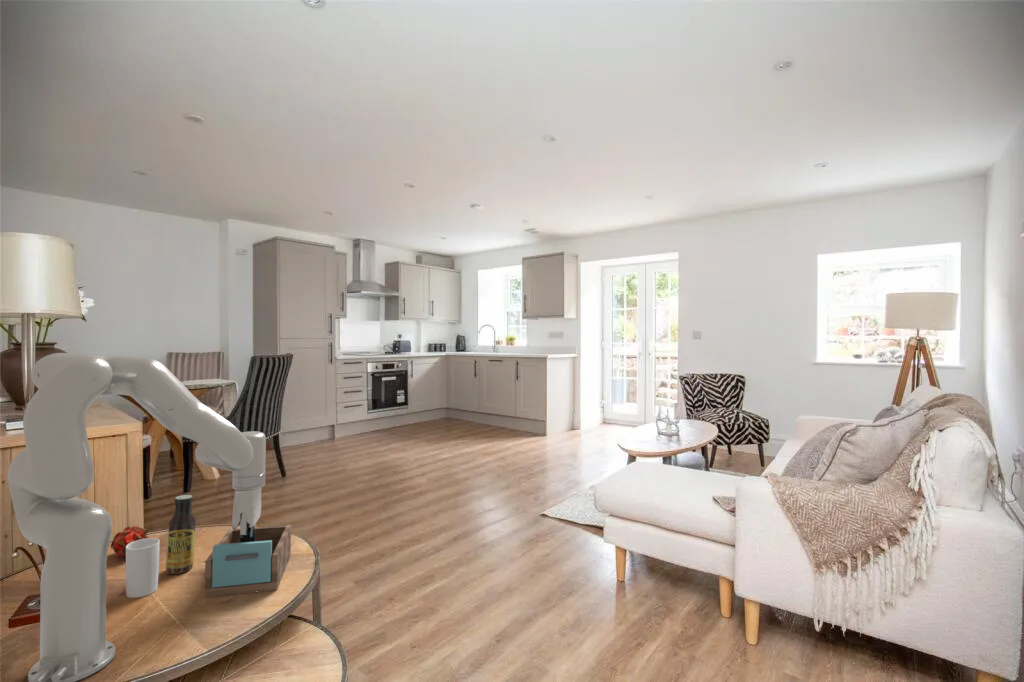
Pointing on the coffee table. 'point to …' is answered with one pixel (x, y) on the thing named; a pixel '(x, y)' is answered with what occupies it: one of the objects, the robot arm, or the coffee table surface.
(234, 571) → the panel
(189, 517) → the sauce bottle
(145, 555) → the white oval vase
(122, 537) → the dragon fruit
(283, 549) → the box
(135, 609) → the coffee table surface
